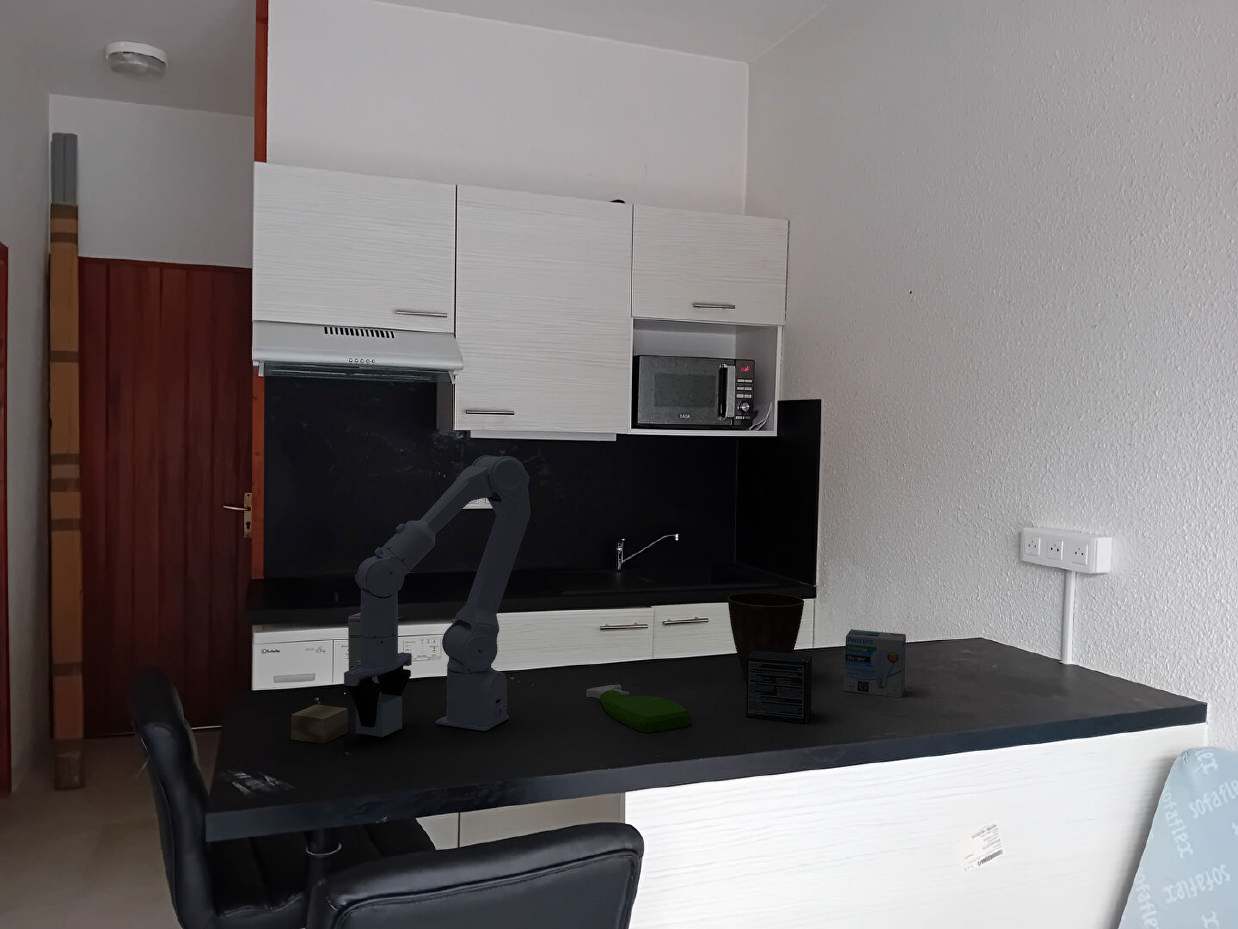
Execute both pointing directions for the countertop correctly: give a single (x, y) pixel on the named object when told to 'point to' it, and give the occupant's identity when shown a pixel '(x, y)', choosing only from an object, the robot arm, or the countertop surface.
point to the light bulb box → (875, 663)
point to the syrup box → (355, 641)
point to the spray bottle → (641, 710)
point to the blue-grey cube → (384, 717)
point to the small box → (778, 686)
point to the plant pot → (764, 623)
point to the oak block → (319, 723)
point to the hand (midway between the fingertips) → (379, 721)
